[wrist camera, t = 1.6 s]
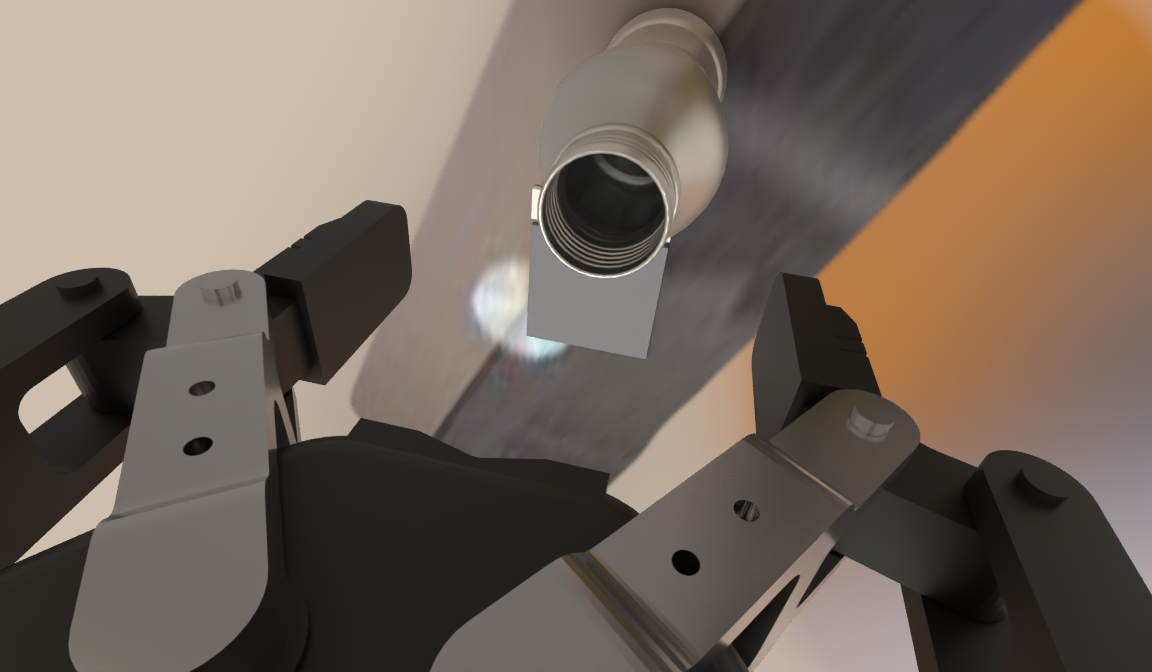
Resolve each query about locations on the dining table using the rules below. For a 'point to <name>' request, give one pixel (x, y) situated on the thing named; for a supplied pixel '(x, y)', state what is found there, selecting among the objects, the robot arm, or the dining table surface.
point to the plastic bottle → (633, 145)
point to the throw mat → (590, 302)
